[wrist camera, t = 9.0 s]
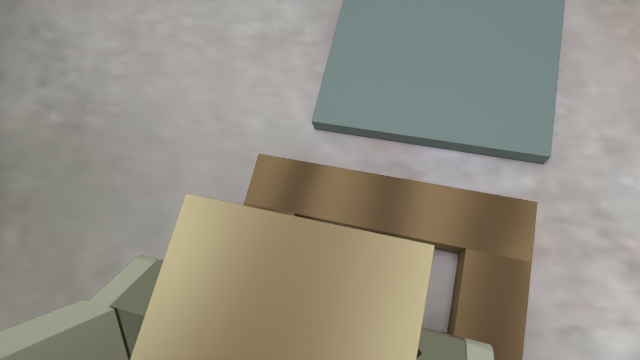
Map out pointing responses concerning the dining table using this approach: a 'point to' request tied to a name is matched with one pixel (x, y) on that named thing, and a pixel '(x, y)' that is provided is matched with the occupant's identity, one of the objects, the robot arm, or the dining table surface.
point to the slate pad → (446, 74)
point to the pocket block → (423, 235)
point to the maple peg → (282, 289)
